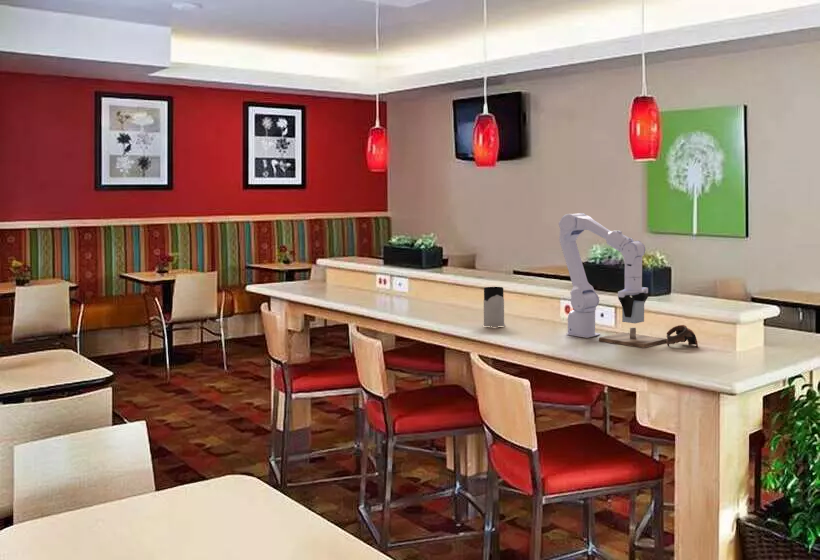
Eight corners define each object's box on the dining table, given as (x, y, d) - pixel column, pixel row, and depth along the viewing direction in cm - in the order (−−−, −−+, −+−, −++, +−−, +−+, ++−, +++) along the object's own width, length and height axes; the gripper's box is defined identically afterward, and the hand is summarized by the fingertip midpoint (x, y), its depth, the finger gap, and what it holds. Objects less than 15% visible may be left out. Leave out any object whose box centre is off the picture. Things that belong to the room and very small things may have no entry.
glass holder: (487, 328, 329) (486, 289, 327) (475, 323, 342) (474, 285, 341) (508, 327, 331) (508, 288, 329) (496, 321, 345) (495, 284, 343)
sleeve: (622, 321, 297) (622, 301, 296) (631, 319, 300) (631, 300, 299) (635, 323, 293) (635, 303, 292) (644, 321, 296) (644, 301, 296)
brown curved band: (702, 351, 282) (691, 330, 280) (675, 362, 285) (664, 342, 283) (697, 335, 293) (686, 315, 291) (670, 346, 296) (660, 326, 294)
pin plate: (598, 340, 300) (598, 327, 299) (623, 335, 309) (623, 322, 308) (643, 347, 286) (643, 334, 286) (667, 342, 295) (667, 328, 295)
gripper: (630, 279, 287) (630, 319, 289) (655, 275, 297) (655, 314, 298) (612, 277, 293) (612, 317, 294) (638, 274, 302) (638, 312, 303)
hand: (632, 316), depth 296 cm, fingers closed on sleeve, 5 cm apart
